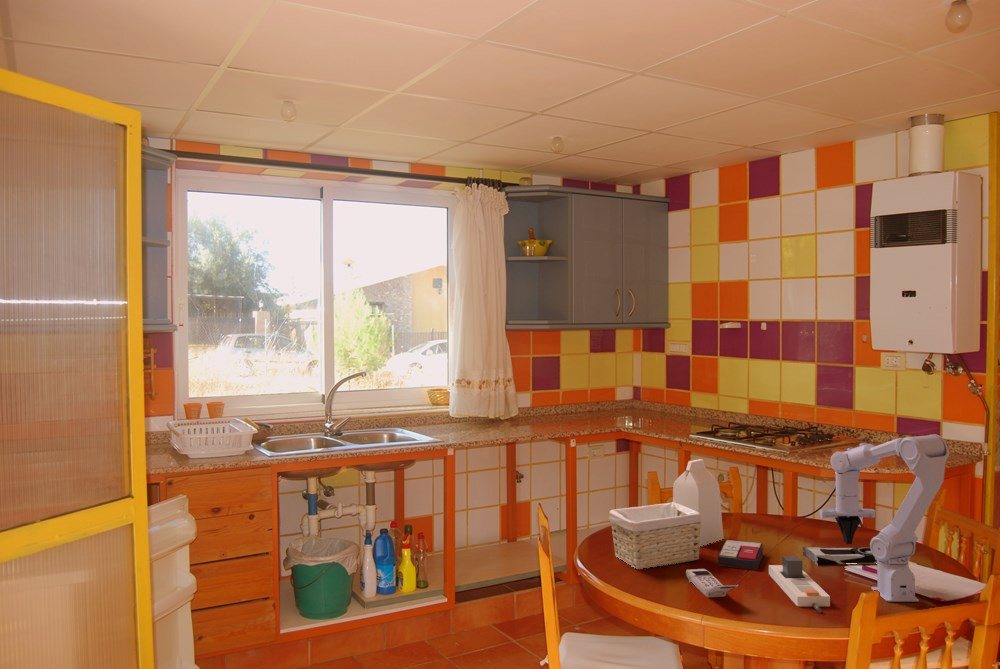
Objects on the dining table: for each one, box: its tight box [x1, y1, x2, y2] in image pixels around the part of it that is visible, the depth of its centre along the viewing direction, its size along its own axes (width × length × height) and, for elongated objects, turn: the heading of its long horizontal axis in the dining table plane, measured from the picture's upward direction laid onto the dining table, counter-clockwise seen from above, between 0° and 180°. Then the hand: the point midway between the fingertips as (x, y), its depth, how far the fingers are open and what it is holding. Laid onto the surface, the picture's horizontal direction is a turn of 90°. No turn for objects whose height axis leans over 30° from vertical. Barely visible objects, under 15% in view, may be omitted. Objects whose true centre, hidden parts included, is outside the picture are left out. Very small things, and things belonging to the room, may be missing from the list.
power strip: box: [768, 564, 831, 614], centre depth 199 cm, size 28×8×3 cm, turn 177°
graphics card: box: [801, 546, 877, 567], centre depth 223 cm, size 10×3×25 cm
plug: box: [782, 555, 804, 578], centre depth 205 cm, size 5×4×7 cm
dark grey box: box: [717, 539, 764, 571], centre depth 226 cm, size 11×4×15 cm
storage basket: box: [608, 501, 701, 570], centre depth 229 cm, size 24×16×15 cm
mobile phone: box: [685, 568, 739, 598], centre depth 202 cm, size 6×6×25 cm
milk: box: [672, 458, 724, 547], centre depth 248 cm, size 12×12×26 cm
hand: (847, 543), depth 209 cm, fingers closed
